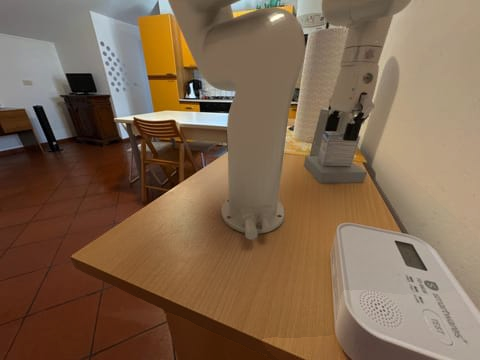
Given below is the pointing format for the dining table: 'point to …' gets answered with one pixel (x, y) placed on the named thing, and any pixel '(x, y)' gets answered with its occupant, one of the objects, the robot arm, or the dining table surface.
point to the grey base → (334, 172)
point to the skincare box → (321, 129)
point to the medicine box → (337, 149)
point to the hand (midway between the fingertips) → (339, 135)
